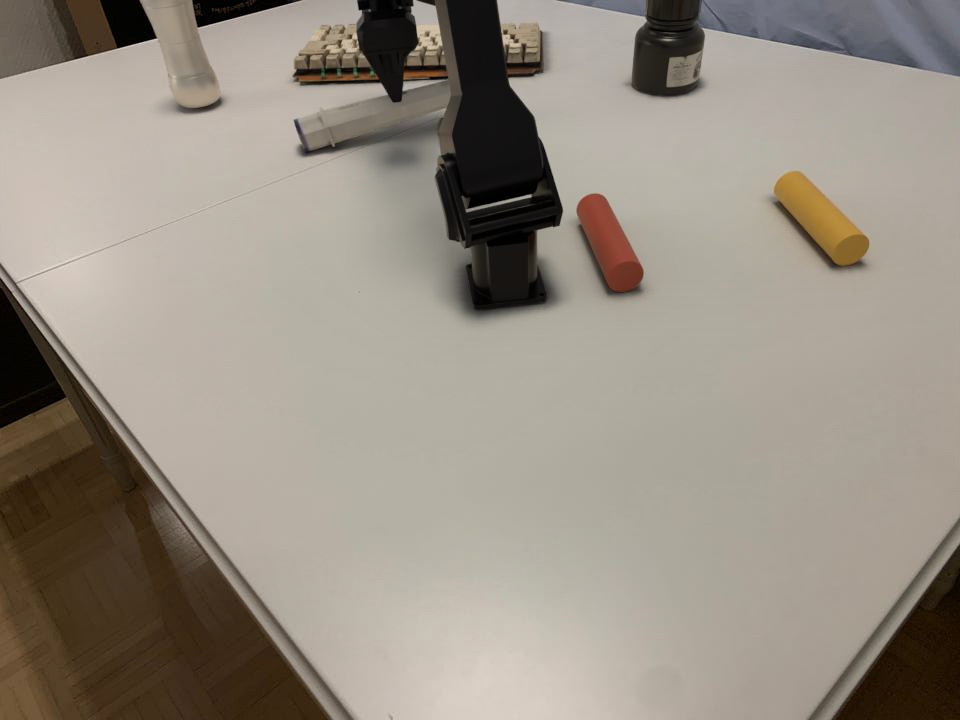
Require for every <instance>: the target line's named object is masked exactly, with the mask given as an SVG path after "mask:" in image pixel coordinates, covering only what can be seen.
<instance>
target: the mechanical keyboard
mask: <svg viewBox="0 0 960 720" xmlns="http://www.w3.org/2000/svg"><path fill="white" fill-rule="evenodd" d="M500 25H501V32H502V38H503V45H504V52H505V59H506V66H507V73H508V76H510V75H511V76H513V75H514V76H524V75H532V74H533V75H534V74H535V72H537V71H544V32H543V31H542V30H541V29H540V25H539V23H538V22H521V23H520V24H519V26H518V28H517V27H516V24H515V22H512V23H511V22H510V23H500ZM356 28H357V22H356V23H348V25H347V27H346V26H345V25H344V23H340V24H334V25H333V27H332V26H331V24H320V26H319V28H318V29H316V30H315V32H314V33H313V34H314V35H312V36H311V38H310V40H309V41H308V42H307V43H306V44H305V46H304V47H303V48H302V49H300V50H299V52H298V53H297V54H298V55H296V56H295V57H294V58H293V69H294V70H295V72H294V73H293V74H292V78H294V79H295V78H296V79H298V82H300V83H301V82H302V83H303V82H335V81H337V82H339V81H372V80H373V81H375V80H377V81H378V80H379V79H378V77H377V75H376V74H375V72H374V70H373V69H372V67H371V66H370V64H369V62H368V61H367V59H366V58H365V56H364V55H363V54H362V52H361V51H360V50H359V45H358V39H357V33H356ZM416 28H417V37H418V45H417V47H416V49H415V50H414V51H412V52H411V53H410V54H409V55H408V56H407V57H406V59H405V66H404V79H403V81H406V80H407V81H409V80H429V79H430V78H435V77H438V78H440V77H448V74H447V68H446V62H445V56H444V51H443V45H442V39H441V34H440V28H439V24H416Z"/></svg>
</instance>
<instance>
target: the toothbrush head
mask: <svg viewBox="0 0 960 720" xmlns="http://www.w3.org/2000/svg"><path fill="white" fill-rule="evenodd" d="M450 97H451V91H450V85H449V79H445V80H442V81H438V82H434V83H429V84H426V85H421V86H417V87H412V88H410V89H405V90H403V93H402V101H401V102H397V103H393V102H392V101H391V99H390V97H389V96H388V94H385V95H379V96H377V97H372V98H369V99H368V98H367V99H364V100H360V101H355V102H352V103H348V104H344V105H340V106H336V107H331V108H327V109H323V108H322V107H319V108H318V109H319V111H317V112H313V113H310V114H306V115H304V116H300V117H297V118H294V119H293V124H294V127H295V130H296V133H297V135H298V136H297V137H298V138H299V141H300V143H301V146H302V148H303V150H304V152H305V153H309V152H313V151H316V150H319V149H322V148H325V147H329V146H331V147H332V148H335V147H336V144H337V143H340V142H344V141H347V140H350V139H353V138H356V137H360V136H364V135H366V134H368V133H372V132H375V131H378V130H382V129H384V128H387V127H390V126H394V125H397V124H400V123H404V122H406V121H410V120H412V119H416V118H419V117H422V116H424V115H425V116H426V115H428V114H431V113H435V112H438V111H441V110H443V109H447V106H448V103H449V100H450Z"/></svg>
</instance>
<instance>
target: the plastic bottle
mask: <svg viewBox="0 0 960 720" xmlns="http://www.w3.org/2000/svg"><path fill="white" fill-rule="evenodd" d="M139 2H140V4H141V6H142V8H143V10H144V12H145V14H146V16H147V19H148V20H149V23H150V24H151V26H152V29H153V32H154V34H155V37H156V38H157V42H158V44H159V47H160V49H161V53H162V56H163V61H164V65H165V68H166V72H167V80H168V85H169V89H170V92H171V94H172V96H173V98H174V99H175V101H176V103H178V104H179V105H180V106H182V107H184V108H187V109H198V108H203V107H207V106H210V105H213V104H215V103H216V102H218V100H219V98H220V95H221V88H220V82H219V79H218V77H217V74H216V72H215V70H214V68H213V67H212V66H211V63H210V60H209V58H208V55H207V53H206V50H205V47H204V45H203V43H202V40H201V36H200V33H199V28H198V24H197V20H196V16H195V15H196V14H195V10H194V9H195V8H194V4H193V0H139Z"/></svg>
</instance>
